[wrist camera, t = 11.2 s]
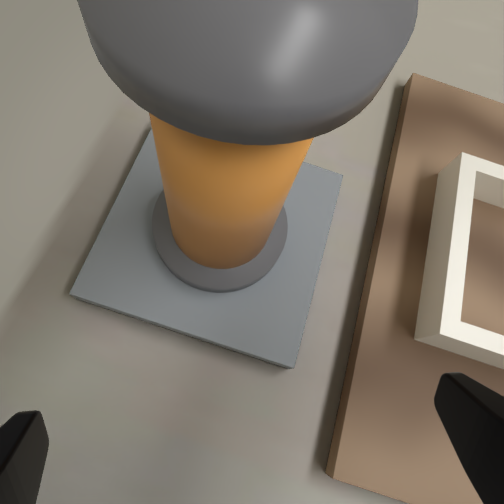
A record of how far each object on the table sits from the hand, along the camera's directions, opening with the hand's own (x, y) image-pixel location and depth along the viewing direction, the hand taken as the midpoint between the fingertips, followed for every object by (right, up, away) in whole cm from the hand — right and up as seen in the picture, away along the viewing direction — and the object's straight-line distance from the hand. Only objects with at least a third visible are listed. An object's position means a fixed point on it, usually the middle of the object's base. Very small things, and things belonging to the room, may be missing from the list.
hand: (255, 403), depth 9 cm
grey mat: (-2, +4, +10) cm, 11 cm away
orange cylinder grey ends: (-2, +4, +9) cm, 10 cm away
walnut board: (+13, +2, +11) cm, 17 cm away
